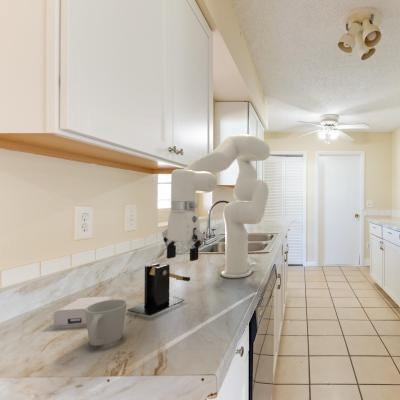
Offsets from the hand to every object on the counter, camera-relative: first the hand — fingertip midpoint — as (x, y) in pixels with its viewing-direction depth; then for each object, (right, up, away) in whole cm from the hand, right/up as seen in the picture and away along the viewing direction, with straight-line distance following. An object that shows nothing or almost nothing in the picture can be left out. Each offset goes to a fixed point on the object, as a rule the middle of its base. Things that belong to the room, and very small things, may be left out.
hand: (182, 259), depth 89 cm
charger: (-19, -13, -14) cm, 27 cm away
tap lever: (-2, -5, -5) cm, 7 cm away
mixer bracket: (-4, -13, -9) cm, 16 cm away
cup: (-5, -13, -29) cm, 33 cm away
